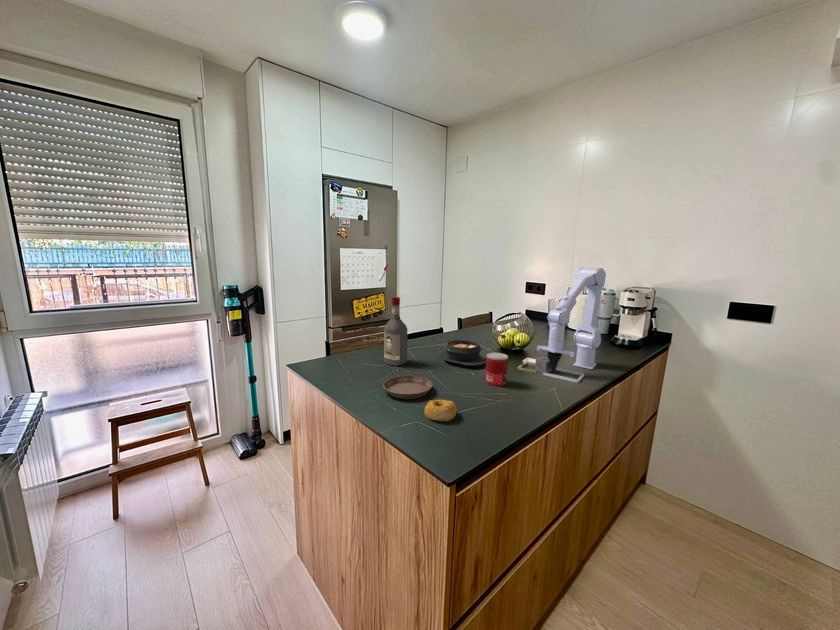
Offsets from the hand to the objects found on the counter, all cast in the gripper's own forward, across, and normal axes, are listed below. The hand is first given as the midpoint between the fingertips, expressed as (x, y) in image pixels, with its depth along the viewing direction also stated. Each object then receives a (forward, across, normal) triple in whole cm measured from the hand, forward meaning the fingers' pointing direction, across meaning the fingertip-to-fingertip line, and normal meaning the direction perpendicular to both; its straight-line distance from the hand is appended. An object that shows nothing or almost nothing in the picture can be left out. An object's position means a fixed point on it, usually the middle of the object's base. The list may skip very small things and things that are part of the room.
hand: (553, 370), depth 139 cm
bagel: (+2, -16, -61) cm, 63 cm away
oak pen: (+1, -10, 0) cm, 10 cm away
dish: (+1, -13, +9) cm, 16 cm away
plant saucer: (+2, -35, -53) cm, 64 cm away
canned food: (+2, -14, -25) cm, 29 cm away
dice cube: (+2, -4, +1) cm, 5 cm away
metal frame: (+1, +4, 0) cm, 4 cm away
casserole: (+2, -38, -10) cm, 40 cm away
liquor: (+2, -60, -32) cm, 68 cm away
